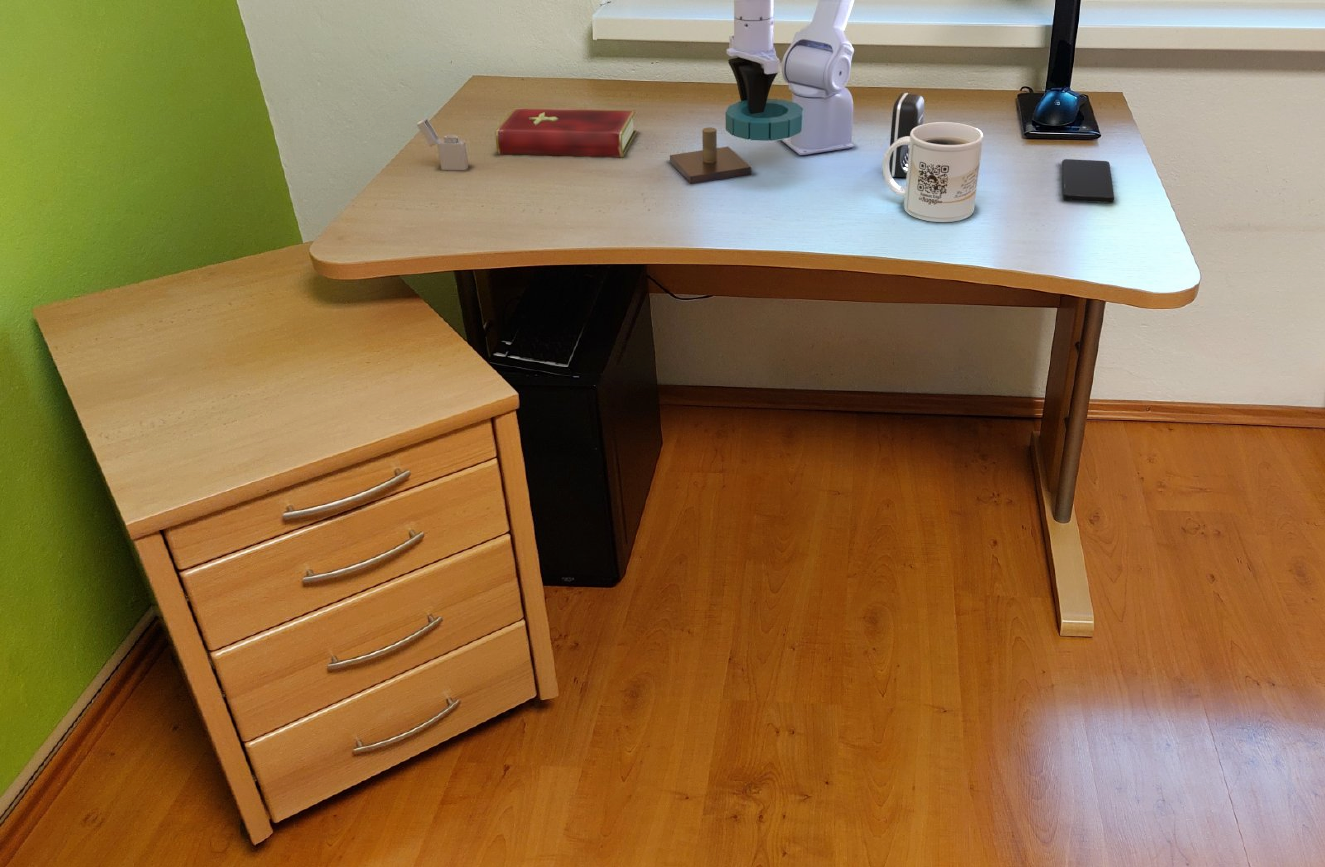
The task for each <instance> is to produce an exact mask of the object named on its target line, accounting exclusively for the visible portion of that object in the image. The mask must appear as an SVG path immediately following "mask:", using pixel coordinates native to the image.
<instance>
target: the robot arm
mask: <svg viewBox="0 0 1325 867" xmlns="http://www.w3.org/2000/svg"><path fill="white" fill-rule="evenodd" d="M854 3H855V0H818V2H817V5H816V8H815V11H814V13H813V16H812V20H811V22H810V23H809V24H807V25H806V26H804V27H802V28H801V29H799V30H798V31H796V32H795V33H794V35H793V38H792V41H791V44H790V45H789V47H788V48H787V49H786V51H785V53H784V55H783V57H782V60H781V76H782V78H783V80H784V81H785V83H787V84H788V91H791V102H794V103H797V104H798V105H799V106H801V107H802V108H803V109H804V110H803V127H802V131H801V132H800V133H798V134H796V135H794V136H792V137H790V138H789V137H788V138H785V139H781V141H782V142H783V143H784V144H785V145H786V146H788V147H789V148H790V149H792V150H793V151H794V152H795V153H797V154H798V155H799V156H807V155H813V154H820V153H825V152H831V151H833V152H834V151H839V150H845V149H851V148H854V143H852V141H853V123H854V101H853V100H854V99H853V96H852V94H851V92H850V90H849V89H848V88H847V87H846V86H847V83H848V82H849V81H850V77H851V73H852V72H851V70H852V65H851V64H852V59H853V55H854V52H855V49H854V47H853V45H852V43H851V42H850V40H849V38H848V37H847V35H846V34H845V30H846V27H847V25H848V21H849V19H850V15H851V12H852V10H853V9H852V8H853V6H854ZM774 22H775V0H733V35H730V36H729V37H728V40H729V42H728V44H729V46H728V47H729V48H726V55H728V56H729V57H733V58H730V59H728V60H727V61H728V65H729V67H730V69H731V71H732V73H733V76H734V78H735V82H736V85H737V89H738V90H737V91H738V93H739V99H740V101H741V102H742V101H744V100H747V101H748V108H749V112H750V113H751V114H755V113H762V112H764V109H765V106H766V102H767V99H769V98H768V97H769V94H770V91H771V88H772V85H773V83H774V80H775V79H776V77H777V75H778V74H780V58H778V57H777V53H776V48H775V45H774V26H775V24H774Z"/></svg>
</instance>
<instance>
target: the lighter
mask: <svg viewBox="0 0 1325 867" xmlns="http://www.w3.org/2000/svg"><path fill="white" fill-rule="evenodd" d="M416 127H417V128H418V129H419V131H420V133H421V134H422V136H423V138H424V139H425V141H426V142H427V144H428V146H429V147H433V146H435V145H437V149H438V150H437V151H438V156H439V163H440V170H442V171H467V169H468V168H469V160H468V159H469V158H468V152H467V146H466V144H467V143H466V140H464V139H463V140H462V139H461V140H460V137H458V136H457V135H456V134H445V135H444V136H443V139H441V138H440V137H439V135H438V134H437V131H436V130H435V129H434V127H433V125H432V123H431V122H430V121H429V119H428V117H423V118H421V119H420V120H418V121H417V123H416Z"/></svg>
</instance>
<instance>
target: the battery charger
mask: <svg viewBox="0 0 1325 867" xmlns="http://www.w3.org/2000/svg"><path fill="white" fill-rule="evenodd" d="M924 115H925V100H924V97H923V96H922V95H920V94H917V93H916V94H915V93H909V92H904V93H900V94H899V96H898V97H897V98H896V100H895V102H894V104H893V107H892V115H891V128H890V138H889V139H890V140H889V147H890V146H891V145H892V144H893V143H894V142H895V141H896V140H898V139H899V138H902V137H906V136H910V132H911V131H912V129H913V128H915V127H917V126H919V125H923V124H924ZM908 154H909V145H901V146H899V147H897V148H896V149H894V151H893V152H892V154H891V157H890V162H889V169H890V174H891V176H892V178H895V177H896V178H906V176H907V165H908Z"/></svg>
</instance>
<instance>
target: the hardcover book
mask: <svg viewBox="0 0 1325 867" xmlns="http://www.w3.org/2000/svg"><path fill="white" fill-rule="evenodd" d="M635 113H636V110H635V109H596V108H595V109H592V108H590V109H589V108H588V109H587V108H584V109H583V108H536V107H535V108H531V107H514V108H513V109H512V110H511V111H510V112H509V114H508V115H507V117H505V118H504V120H503V121H502V122H501V123H500V124H499V126H498V127H497V128H496V129H495V131H494V132H495V135H494V136H495V146H496V150H497V155H517V156H518V155H520V156H521V155H522V156H525V155H526V156H561V157H563V156H564V157H565V156H566V157H595V158H597V157H599V158H601V157H603V158H606V157H607V158H624V156H625V154H626V153H627V151H628V149H629V147H630V146H631V144H632V141H633V140H634V138H635V136H636V134H637V130H634V121H633V118H634V116H635Z"/></svg>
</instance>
